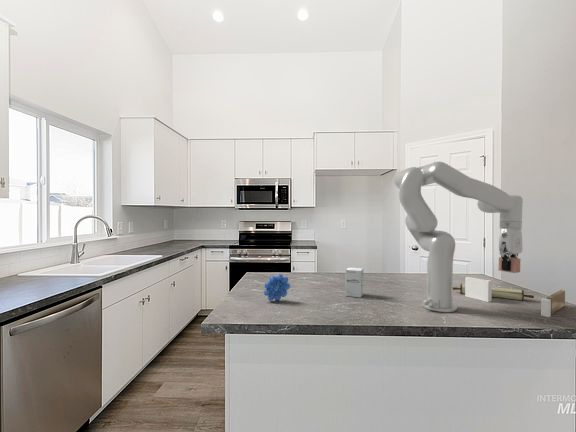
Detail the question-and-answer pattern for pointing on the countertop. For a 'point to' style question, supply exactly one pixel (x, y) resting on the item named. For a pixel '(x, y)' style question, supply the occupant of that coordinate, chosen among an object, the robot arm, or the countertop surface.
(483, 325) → the countertop surface
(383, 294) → the countertop surface
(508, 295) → the rolling pin
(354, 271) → the supplement box
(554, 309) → the door
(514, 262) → the block
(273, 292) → the grapes
